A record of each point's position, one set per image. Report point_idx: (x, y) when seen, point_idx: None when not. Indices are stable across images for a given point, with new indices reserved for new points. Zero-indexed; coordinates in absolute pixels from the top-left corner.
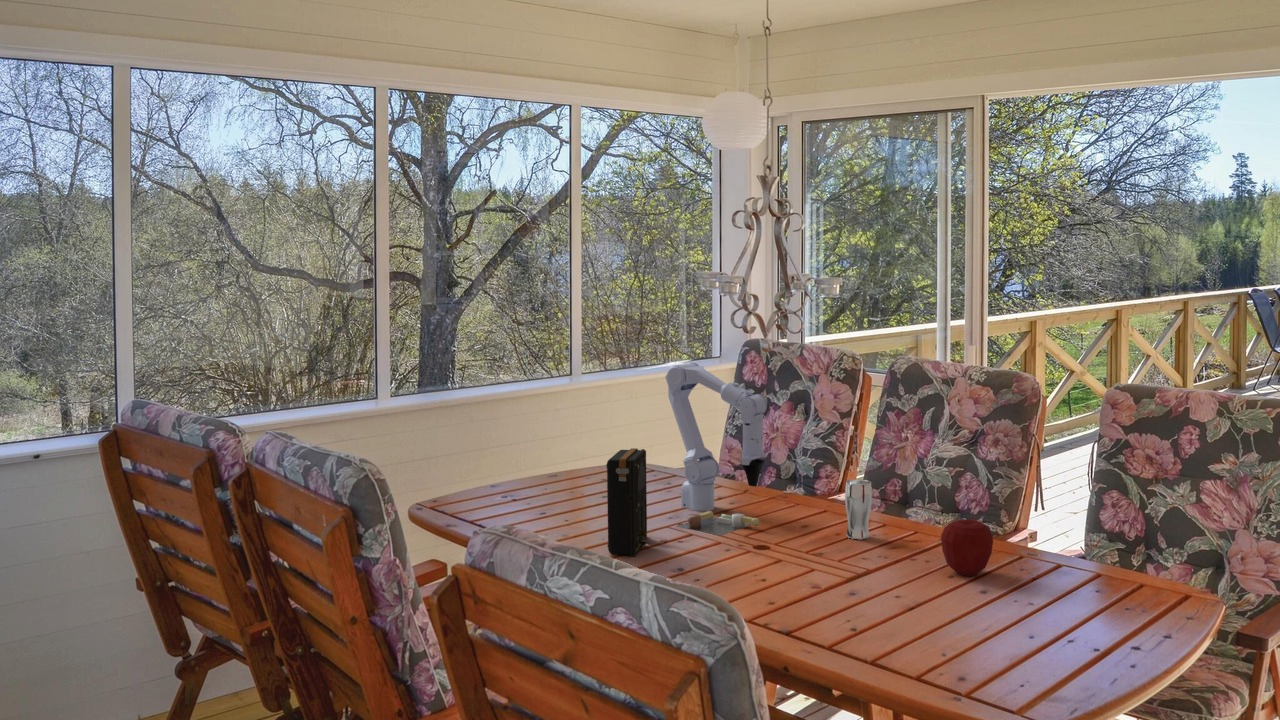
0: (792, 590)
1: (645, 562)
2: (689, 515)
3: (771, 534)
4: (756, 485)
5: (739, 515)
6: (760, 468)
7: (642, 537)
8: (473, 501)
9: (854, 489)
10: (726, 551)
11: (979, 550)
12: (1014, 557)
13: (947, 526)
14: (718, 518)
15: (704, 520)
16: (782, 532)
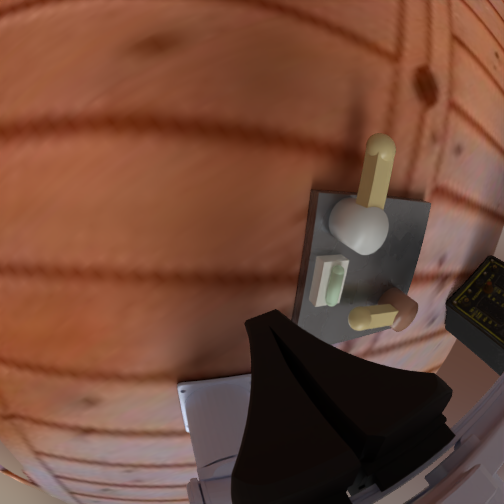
0: (494, 20)
1: (499, 228)
2: (405, 326)
3: (329, 97)
4: (255, 317)
5: (373, 225)
6: (289, 410)
7: (467, 295)
8: None
9: None
10: (463, 147)
11: None
12: None
13: None
14: (339, 298)
15: (333, 327)
16: (288, 72)
